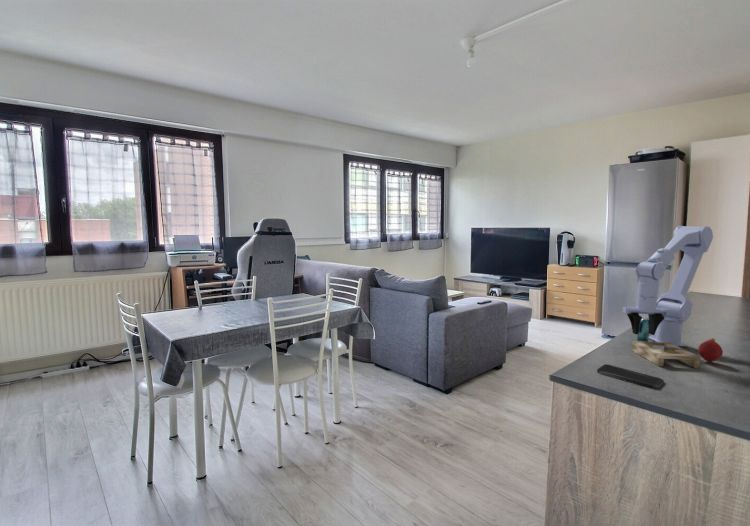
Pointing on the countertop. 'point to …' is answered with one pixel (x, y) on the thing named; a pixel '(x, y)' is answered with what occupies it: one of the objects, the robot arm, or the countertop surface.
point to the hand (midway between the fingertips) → (643, 333)
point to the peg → (644, 331)
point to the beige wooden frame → (664, 353)
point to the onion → (710, 350)
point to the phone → (631, 376)
